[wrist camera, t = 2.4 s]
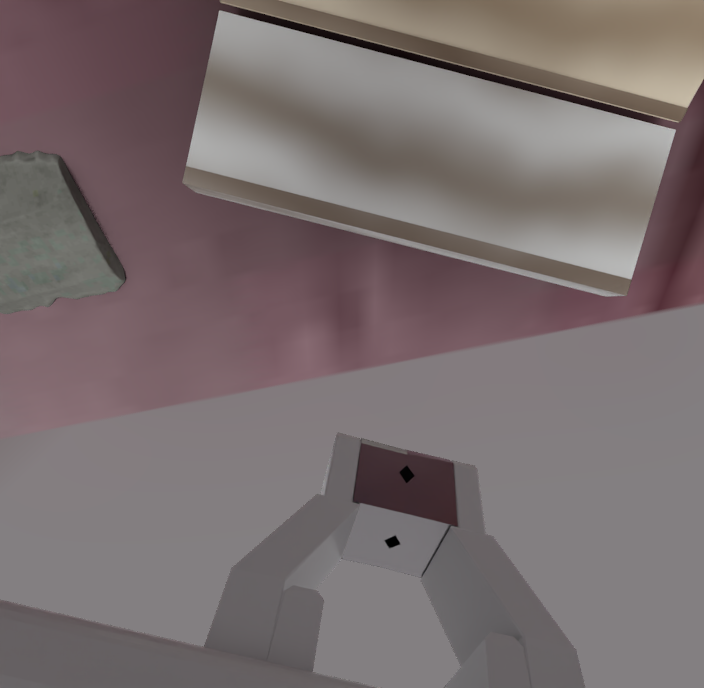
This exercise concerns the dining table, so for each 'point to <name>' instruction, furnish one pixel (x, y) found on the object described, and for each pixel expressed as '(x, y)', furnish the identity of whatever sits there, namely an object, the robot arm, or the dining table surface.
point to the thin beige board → (536, 41)
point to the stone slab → (49, 236)
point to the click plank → (424, 156)
